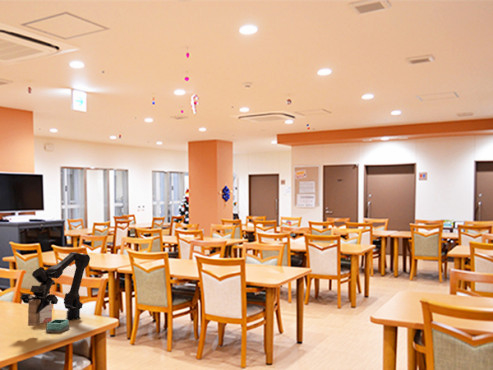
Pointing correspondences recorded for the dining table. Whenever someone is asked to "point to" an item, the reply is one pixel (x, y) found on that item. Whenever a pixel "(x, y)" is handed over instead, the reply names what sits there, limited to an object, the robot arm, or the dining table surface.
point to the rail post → (33, 312)
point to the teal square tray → (57, 326)
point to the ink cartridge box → (46, 314)
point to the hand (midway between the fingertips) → (32, 312)
